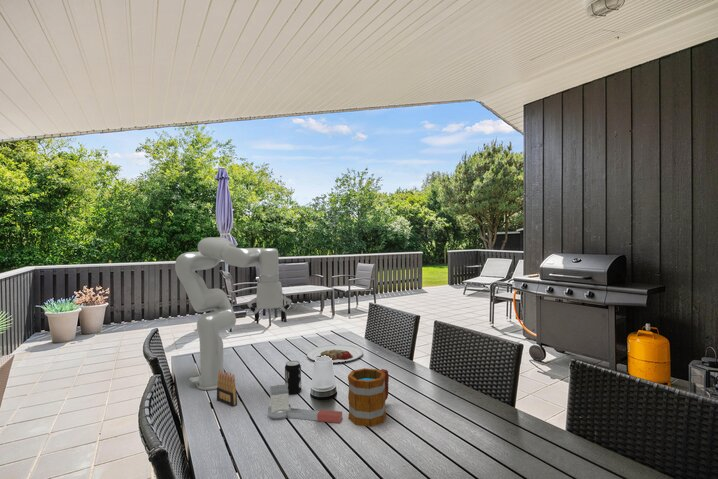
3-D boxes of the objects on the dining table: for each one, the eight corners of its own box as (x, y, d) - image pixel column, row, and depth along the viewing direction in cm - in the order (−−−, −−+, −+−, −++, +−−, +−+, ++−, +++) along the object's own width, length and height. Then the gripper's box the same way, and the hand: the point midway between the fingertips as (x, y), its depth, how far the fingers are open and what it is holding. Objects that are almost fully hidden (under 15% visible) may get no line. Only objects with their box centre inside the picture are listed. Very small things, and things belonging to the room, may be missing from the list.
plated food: (315, 347, 221) (315, 341, 221) (366, 348, 217) (366, 342, 217) (299, 364, 191) (299, 357, 191) (358, 366, 187) (358, 359, 187)
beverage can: (297, 395, 153) (297, 365, 153) (282, 394, 155) (282, 365, 154) (303, 389, 160) (303, 360, 160) (288, 388, 161) (288, 359, 161)
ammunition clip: (237, 405, 145) (236, 373, 145) (233, 406, 144) (232, 375, 144) (220, 398, 152) (220, 368, 152) (216, 400, 150) (216, 369, 150)
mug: (371, 430, 124) (370, 385, 124) (340, 419, 133) (339, 376, 133) (403, 408, 140) (402, 368, 140) (373, 399, 148) (372, 361, 148)
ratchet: (264, 418, 134) (264, 401, 134) (274, 408, 142) (274, 392, 142) (337, 426, 128) (337, 408, 128) (344, 415, 135) (343, 398, 135)
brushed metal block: (271, 412, 133) (271, 392, 133) (270, 405, 139) (270, 386, 139) (288, 410, 135) (288, 390, 135) (287, 403, 141) (286, 384, 141)
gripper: (246, 281, 145) (247, 325, 145) (292, 279, 150) (292, 322, 150) (246, 279, 153) (247, 321, 153) (290, 277, 157) (290, 318, 158)
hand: (270, 322), depth 151 cm, fingers open, 9 cm apart
